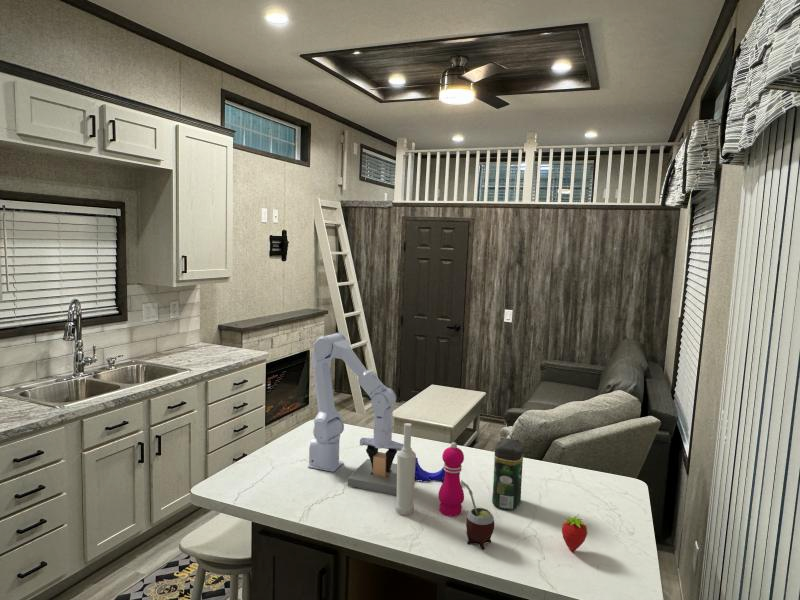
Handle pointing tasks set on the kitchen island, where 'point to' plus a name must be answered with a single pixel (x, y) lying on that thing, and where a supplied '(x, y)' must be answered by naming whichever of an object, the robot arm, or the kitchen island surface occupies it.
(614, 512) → the kitchen island surface
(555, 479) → the kitchen island surface
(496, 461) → the coffee jar
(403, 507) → the bottle
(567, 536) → the strawberry
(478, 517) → the mate gourd
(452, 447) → the pepper mill
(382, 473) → the plug
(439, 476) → the cable clip
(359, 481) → the socket plate
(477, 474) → the kitchen island surface
